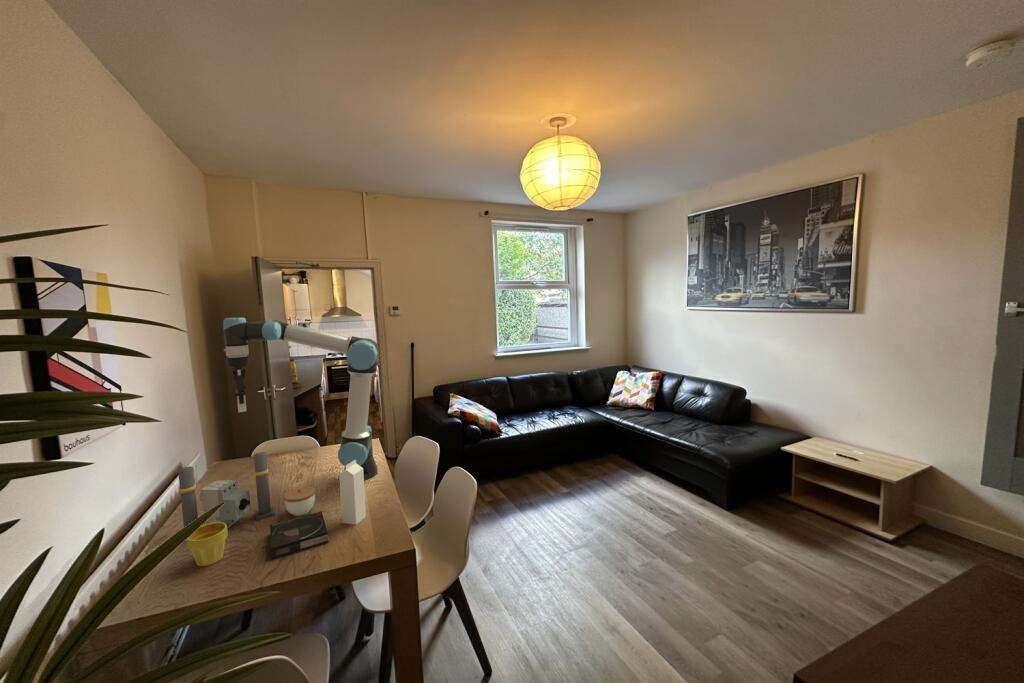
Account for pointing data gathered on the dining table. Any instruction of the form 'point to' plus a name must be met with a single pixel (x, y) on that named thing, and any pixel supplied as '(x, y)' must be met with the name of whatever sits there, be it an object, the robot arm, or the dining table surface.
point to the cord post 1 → (187, 494)
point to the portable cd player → (297, 534)
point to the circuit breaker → (228, 493)
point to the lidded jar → (299, 500)
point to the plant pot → (208, 543)
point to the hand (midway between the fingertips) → (242, 408)
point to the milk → (352, 494)
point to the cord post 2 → (262, 487)
